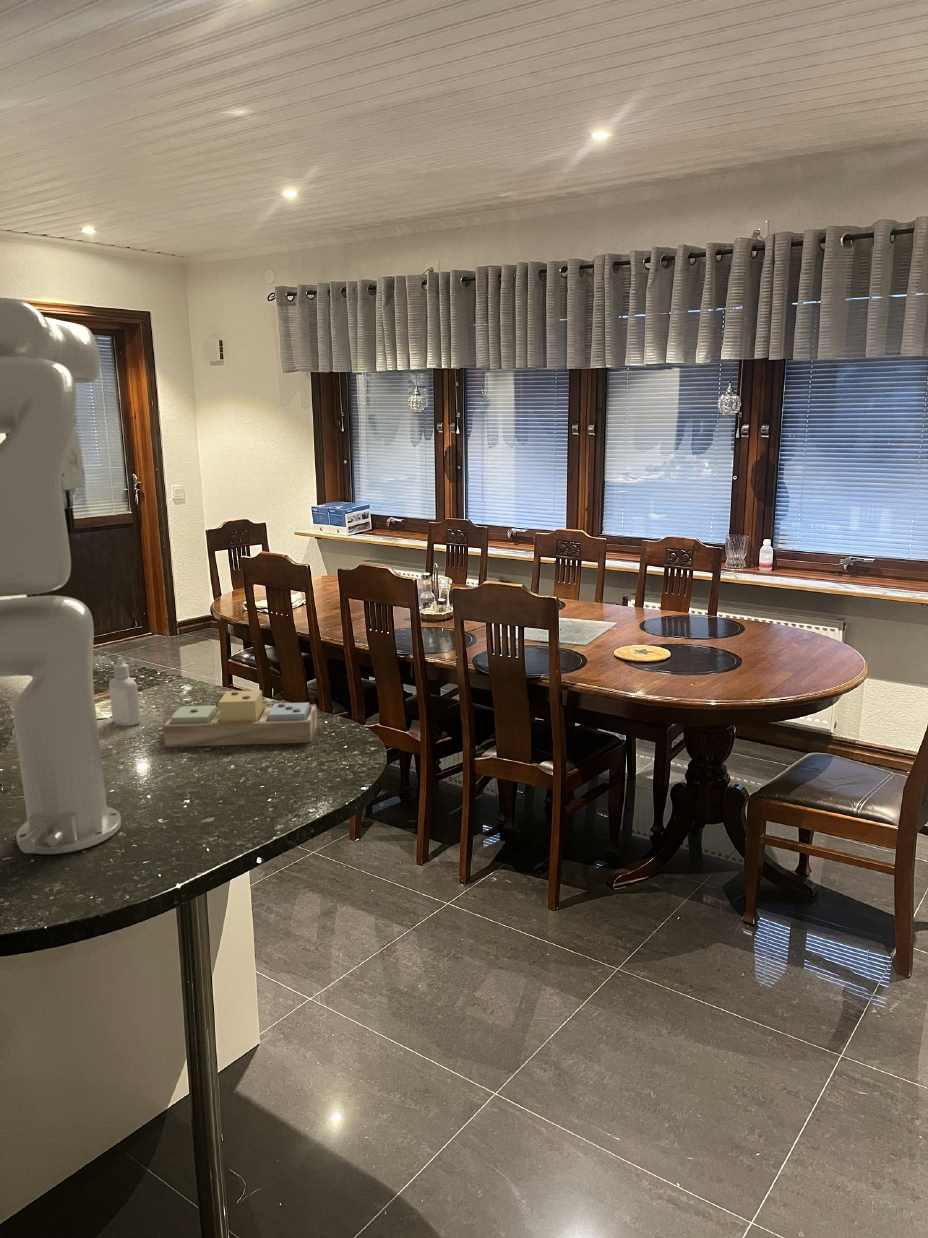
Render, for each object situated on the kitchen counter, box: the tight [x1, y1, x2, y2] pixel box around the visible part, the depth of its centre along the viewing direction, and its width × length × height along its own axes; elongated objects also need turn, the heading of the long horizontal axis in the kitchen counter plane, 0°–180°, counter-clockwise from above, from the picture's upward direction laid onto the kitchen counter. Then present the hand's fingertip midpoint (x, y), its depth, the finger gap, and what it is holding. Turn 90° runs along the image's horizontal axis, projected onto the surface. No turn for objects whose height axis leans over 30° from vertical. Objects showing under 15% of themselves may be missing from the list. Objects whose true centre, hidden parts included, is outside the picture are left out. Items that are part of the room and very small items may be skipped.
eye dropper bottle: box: [108, 657, 142, 727], centre depth 158 cm, size 4×6×12 cm
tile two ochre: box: [218, 689, 264, 722], centre depth 151 cm, size 6×6×4 cm
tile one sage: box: [170, 704, 217, 724], centre depth 151 cm, size 6×6×4 cm
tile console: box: [162, 704, 318, 748], centre depth 152 cm, size 9×24×4 cm, turn 92°
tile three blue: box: [268, 702, 310, 721], centre depth 152 cm, size 6×6×4 cm
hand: (63, 532), depth 146 cm, fingers closed
